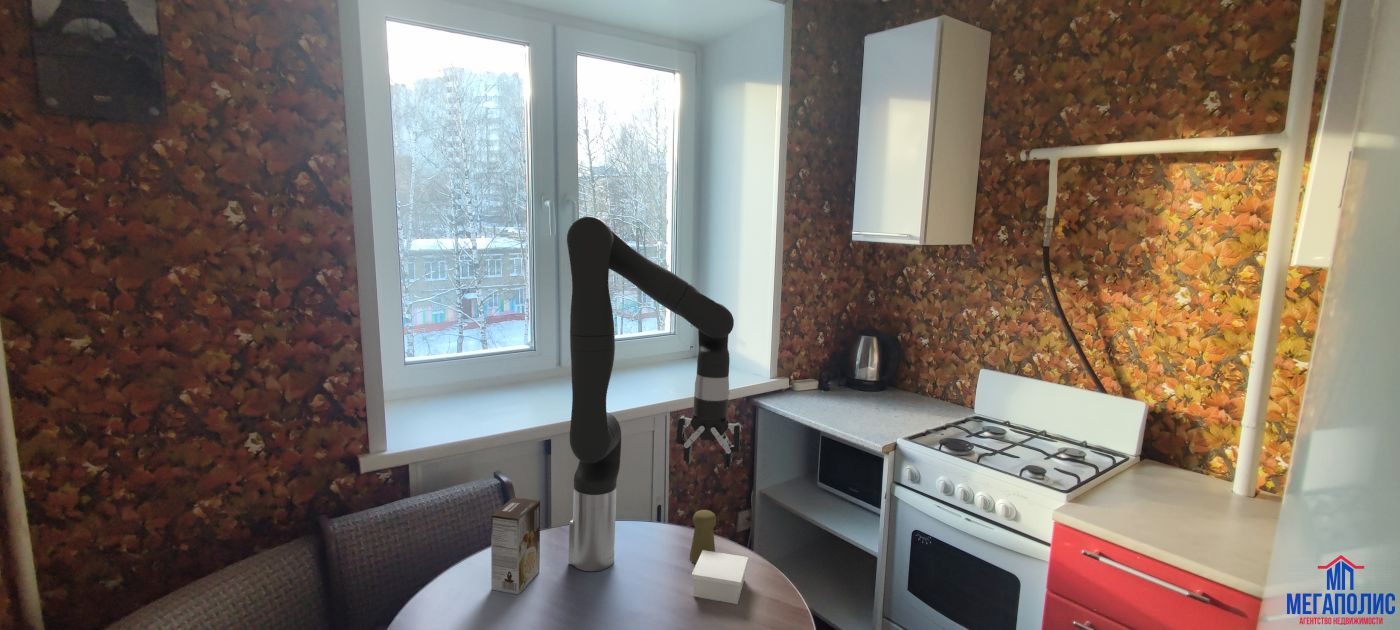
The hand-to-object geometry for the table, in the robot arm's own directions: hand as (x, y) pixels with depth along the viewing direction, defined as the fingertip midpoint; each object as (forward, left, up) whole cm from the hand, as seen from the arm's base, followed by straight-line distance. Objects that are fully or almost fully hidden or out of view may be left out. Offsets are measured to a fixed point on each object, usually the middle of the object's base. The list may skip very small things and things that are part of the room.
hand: (707, 465), depth 136 cm
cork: (0, 0, -22) cm, 22 cm away
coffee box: (-35, -20, -22) cm, 46 cm away
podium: (+6, -10, -22) cm, 25 cm away
